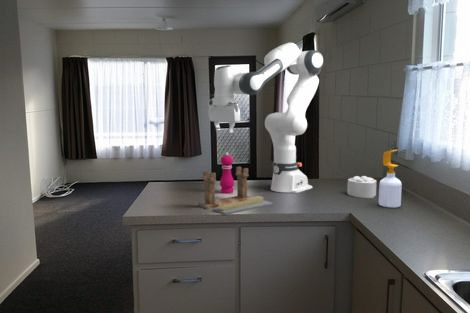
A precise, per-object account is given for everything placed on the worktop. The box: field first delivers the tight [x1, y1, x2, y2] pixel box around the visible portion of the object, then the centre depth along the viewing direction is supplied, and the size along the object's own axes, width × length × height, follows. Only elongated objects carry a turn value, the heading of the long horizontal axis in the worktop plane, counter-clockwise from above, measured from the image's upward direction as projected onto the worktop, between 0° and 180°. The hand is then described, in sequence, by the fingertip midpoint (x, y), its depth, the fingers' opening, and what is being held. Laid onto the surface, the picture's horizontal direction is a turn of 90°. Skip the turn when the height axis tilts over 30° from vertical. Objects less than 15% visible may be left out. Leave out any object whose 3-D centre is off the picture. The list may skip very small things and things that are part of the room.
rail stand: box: [198, 166, 252, 210], centre depth 194 cm, size 25×7×15 cm, turn 128°
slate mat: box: [212, 199, 274, 216], centre depth 187 cm, size 26×9×1 cm, turn 128°
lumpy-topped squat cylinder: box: [346, 175, 377, 199], centre depth 209 cm, size 10×13×9 cm
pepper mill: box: [219, 151, 235, 195], centre depth 215 cm, size 7×7×20 cm
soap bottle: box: [378, 149, 403, 209], centre depth 188 cm, size 9×9×25 cm
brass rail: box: [219, 195, 264, 211], centre depth 186 cm, size 22×3×2 cm, turn 128°
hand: (224, 132), depth 200 cm, fingers open, 8 cm apart
